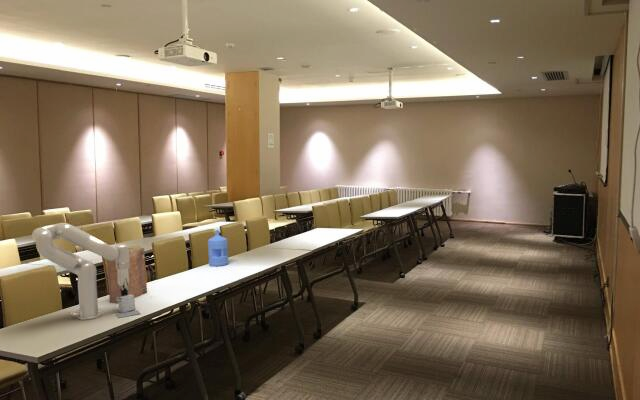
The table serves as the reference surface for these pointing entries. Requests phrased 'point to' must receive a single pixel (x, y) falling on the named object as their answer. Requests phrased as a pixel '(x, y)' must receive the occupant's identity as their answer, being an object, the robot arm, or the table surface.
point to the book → (135, 276)
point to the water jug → (217, 250)
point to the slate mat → (128, 314)
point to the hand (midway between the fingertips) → (124, 296)
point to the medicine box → (126, 303)
